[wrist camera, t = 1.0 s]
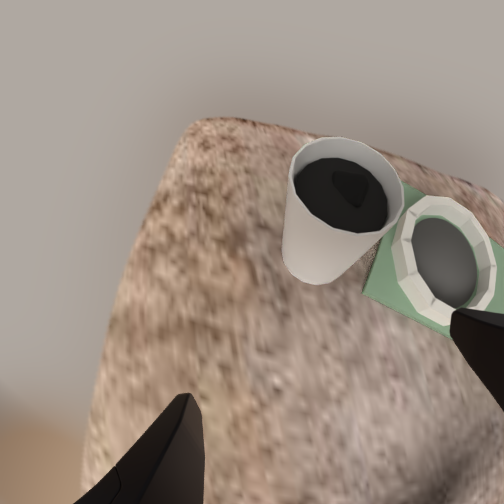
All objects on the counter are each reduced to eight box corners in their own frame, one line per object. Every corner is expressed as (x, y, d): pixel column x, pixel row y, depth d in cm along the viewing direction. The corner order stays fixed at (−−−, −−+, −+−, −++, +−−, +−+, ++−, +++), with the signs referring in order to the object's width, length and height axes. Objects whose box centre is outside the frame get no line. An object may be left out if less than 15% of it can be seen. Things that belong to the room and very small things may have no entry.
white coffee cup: (294, 205, 25) (311, 122, 16) (361, 235, 24) (410, 165, 15) (262, 269, 23) (267, 202, 13) (338, 303, 22) (393, 258, 12)
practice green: (521, 267, 22) (534, 260, 20) (508, 369, 18) (524, 366, 15) (397, 182, 26) (406, 168, 24) (361, 293, 22) (373, 284, 19)
